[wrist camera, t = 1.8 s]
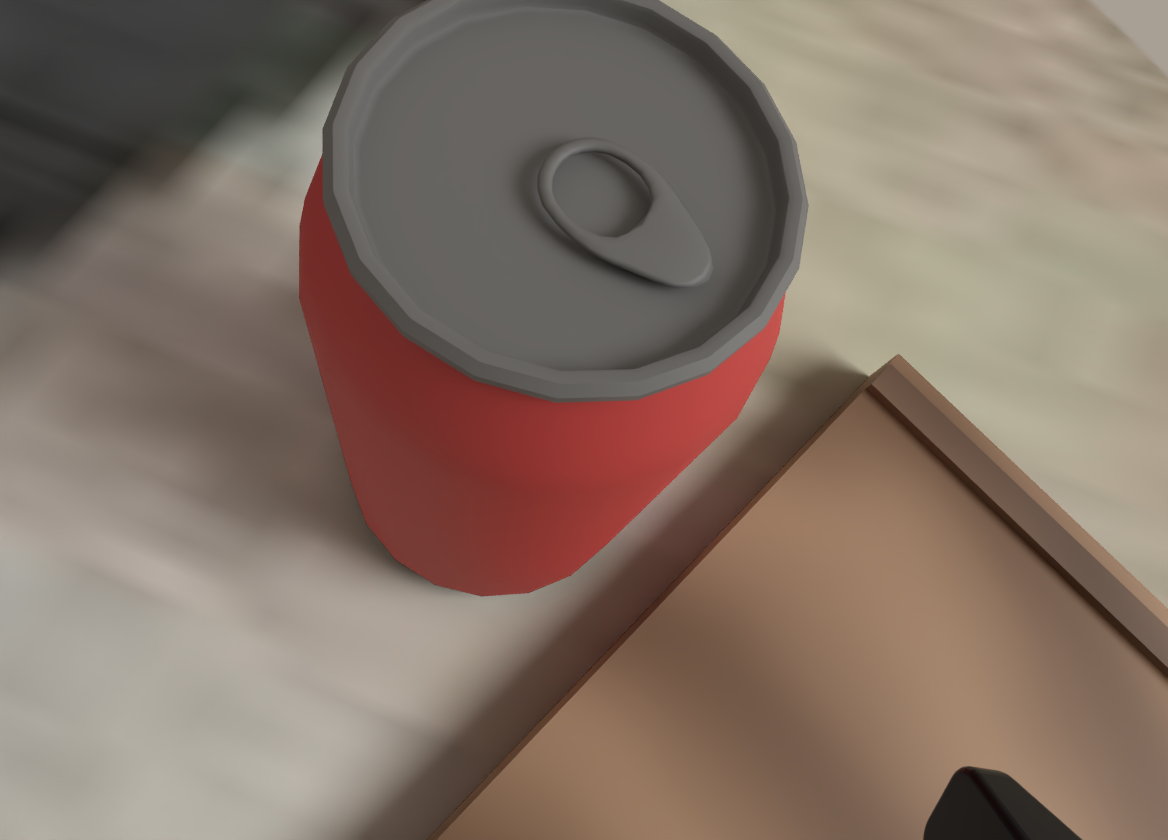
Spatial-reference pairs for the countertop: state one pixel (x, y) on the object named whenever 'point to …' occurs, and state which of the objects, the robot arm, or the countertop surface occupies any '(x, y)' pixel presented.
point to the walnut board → (861, 660)
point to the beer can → (541, 273)
